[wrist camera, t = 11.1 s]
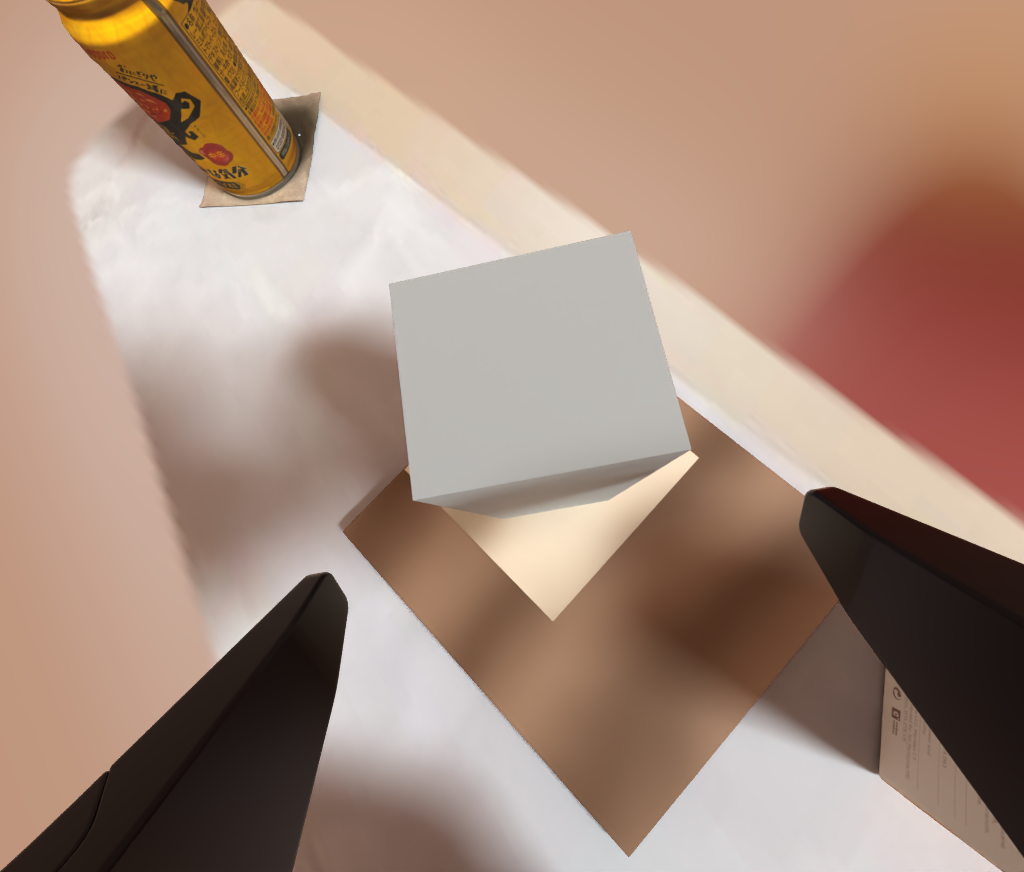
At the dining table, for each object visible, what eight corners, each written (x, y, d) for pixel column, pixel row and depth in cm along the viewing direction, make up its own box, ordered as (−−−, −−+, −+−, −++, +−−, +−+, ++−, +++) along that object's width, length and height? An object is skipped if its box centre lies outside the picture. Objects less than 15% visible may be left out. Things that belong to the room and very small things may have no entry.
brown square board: (864, 552, 18) (879, 553, 18) (625, 842, 17) (629, 859, 16) (562, 314, 23) (562, 305, 22) (350, 531, 21) (341, 532, 20)
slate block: (608, 500, 19) (691, 449, 7) (503, 519, 20) (412, 500, 8) (588, 409, 20) (630, 231, 8) (488, 428, 21) (388, 284, 9)
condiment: (202, 209, 27) (-65, -31, 16) (225, 105, 29) (4, -178, 17) (306, 203, 26) (106, -56, 15) (323, 97, 28) (159, -207, 17)
